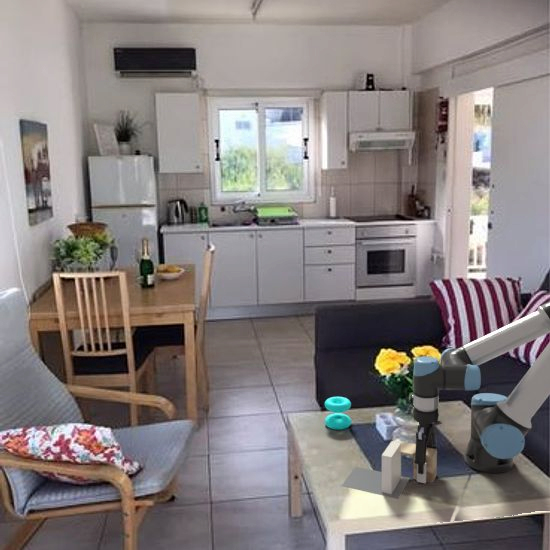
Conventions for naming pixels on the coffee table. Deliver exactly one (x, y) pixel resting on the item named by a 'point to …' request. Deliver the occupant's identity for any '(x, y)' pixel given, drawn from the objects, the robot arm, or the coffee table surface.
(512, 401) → the robot arm
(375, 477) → the board
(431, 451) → the wooden bridge
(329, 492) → the coffee table surface
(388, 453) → the tile
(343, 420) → the donuts
